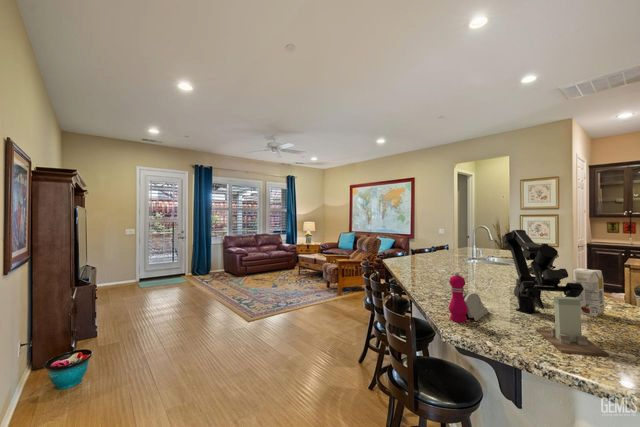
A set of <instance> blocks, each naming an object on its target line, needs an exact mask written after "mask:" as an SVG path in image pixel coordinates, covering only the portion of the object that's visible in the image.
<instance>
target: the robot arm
mask: <svg viewBox="0 0 640 427" xmlns="http://www.w3.org/2000/svg"><path fill="white" fill-rule="evenodd" d="M502 243H503V245H504V246H505V248H506V249H507V250H509V252H510V253H511V256H512V259H513V263H514V266H515V271H516V273H517V276H518V278H517V279H518V281H517V283H515V284H516V285H515V287H514V290H513V295H514V297H516V298H519V303H518V308H515V310H516V311H517V312H518V311H519V312H522V313H525V314H526V313H527V314H528V315H529V314H530V315H531V314H536V313H540V310H545V305H544V302H543V301H542V298H541V295H542V292H543V291H544V292H555V293H556V292H560V293H563V294H564V296H565V297H575V298H576V297H578V296H579V295H580V294H581V292H582V291H583V290H584V288H583V286H582V285H581V284H580V283H573V282H567V283H566V284H565V285H560V284H561V280H564V279H567V278H569V272H568V271H567V269H566V268H559V269H552V268H551V265H553V263H554V262H555V260H556V258H557V257H558V255H559V251H558V249H556V248H555V247H553V246H551V245H549V243H541V244H539V243H535V241H534V240H533V239H532V238H531V237H530V236H529V235H528V234H527V232H526V230H525V229H514V230H511V231H509V232H507V233H505V234H504V235H503V236H502ZM527 261H531V263H530V268H529V266H528V263H527ZM530 270H532V271H533V274H534V276H532V275H531V272H530ZM536 305H537V306H538V307H539V308H540V310H538V309H536Z"/></svg>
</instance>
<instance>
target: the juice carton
mask: <svg viewBox="0 0 640 427" xmlns="http://www.w3.org/2000/svg"><path fill="white" fill-rule="evenodd" d="M572 277H573V278H572V279H573V282H572V283H580V284H581V285H582V286H583V288H584V290H583V291H582V292H581V294H580V295H579V296H578V297H576V298H577V299H580V309H581V315H586V316H590V317H593V316H594V317H595V318H597V317H599V316H600V317H601V316H603V315H604V314H605V313H604V312H605V294H604V293H605V292H604V276H603V272H602V270H600V269H589V268H583V267H580V268H575V269H573V273H572Z"/></svg>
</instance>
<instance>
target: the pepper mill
mask: <svg viewBox="0 0 640 427" xmlns="http://www.w3.org/2000/svg"><path fill="white" fill-rule="evenodd" d="M448 281H449V282H448V283H449V285H450V291H451V293H452V295H451V300H450V302H449V304H448V311H449V312H450V314H449V317H450V320H451V321H453V322H456V323H466V322H467V321H468V318H467V316H465V315H466V314H467V313H468V308H467V305H466V303H465V301H464V298H463V295H464V292H465V287H464V286H465V285H466V281H465V278H464V277H463V276H461V275H460V272H458V271H455V272H454V275H452V276H451V277H450V278H449V280H448Z"/></svg>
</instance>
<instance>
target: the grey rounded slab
mask: <svg viewBox="0 0 640 427" xmlns="http://www.w3.org/2000/svg"><path fill="white" fill-rule="evenodd" d="M463 298H464V301H465V303H466V305H467V308H468V313H467V314H466V315H465V316H467V319H472V318H473V319H474V321H475V322H477V321H478V320H480V319H481V318H483V317H484V316H485V315H486V314H488V313H489V310H488V308H487V307H486V306H484V304H483V301H482V300H481V298H480V295H479V294H478V293H474V292H472V293H466V294H463Z"/></svg>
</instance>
